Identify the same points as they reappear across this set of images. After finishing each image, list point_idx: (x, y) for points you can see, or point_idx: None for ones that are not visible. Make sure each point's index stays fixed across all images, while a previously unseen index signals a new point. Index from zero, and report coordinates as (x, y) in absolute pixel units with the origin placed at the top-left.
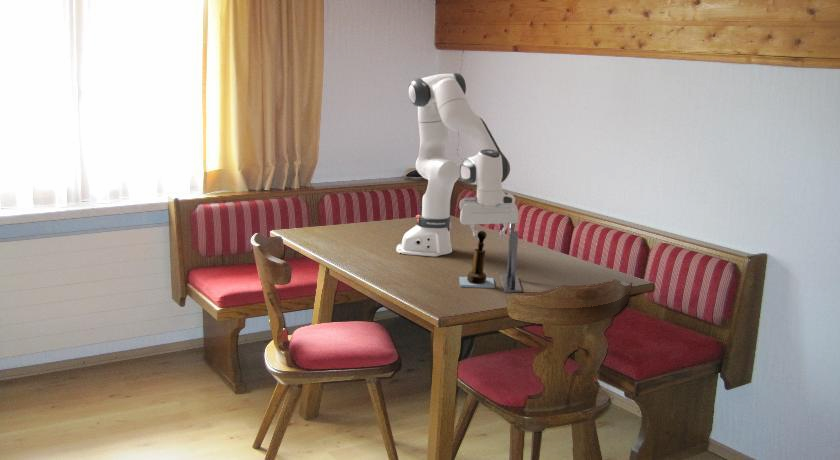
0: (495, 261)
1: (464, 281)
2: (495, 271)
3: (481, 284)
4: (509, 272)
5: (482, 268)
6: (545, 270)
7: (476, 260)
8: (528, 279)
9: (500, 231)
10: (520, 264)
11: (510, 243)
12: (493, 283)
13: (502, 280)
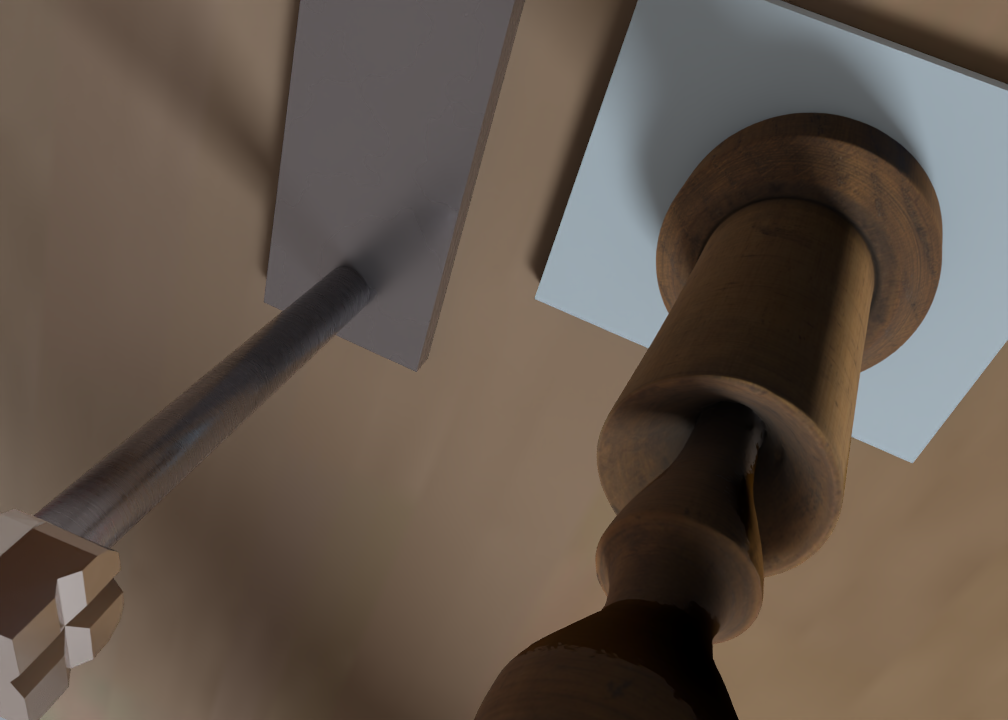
0: (342, 695)
1: (971, 275)
2: (418, 510)
3: (807, 77)
4: (327, 292)
5: (730, 240)
6: (25, 385)
7: (838, 334)
8: (185, 197)
9: (23, 655)
10: (183, 572)
11: (80, 514)
12: (619, 81)
13: (465, 164)
